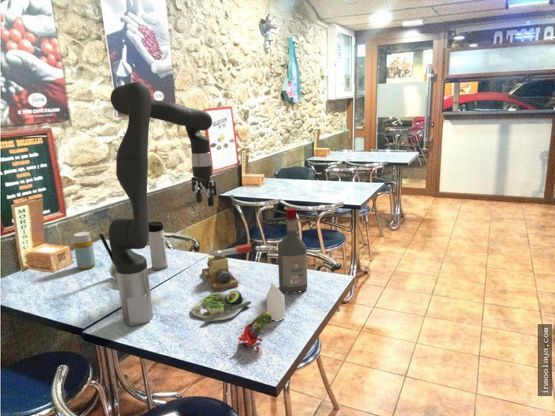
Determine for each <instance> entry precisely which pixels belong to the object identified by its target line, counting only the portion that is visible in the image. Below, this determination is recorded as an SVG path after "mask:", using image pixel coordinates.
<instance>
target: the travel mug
mask: <svg viewBox="0 0 555 416" xmlns="http://www.w3.org/2000/svg"><path fill="white" fill-rule="evenodd" d="M148 223H149V238H148V244H149V251H150V253H149V254H150V261H151V269H152V270H154V271H163V270H165V269H167V268H168V259H167V257H168V256H167V249H166V240H165V229H164V223H162V222H160V221H150V222H149V221H148Z"/></svg>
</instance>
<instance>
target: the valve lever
mask: <svg viewBox="0 0 555 416" xmlns="http://www.w3.org/2000/svg"><path fill="white" fill-rule="evenodd" d="M250 252H251V253H252V252H253V246H252V245H251V244H250V243H246V244H241V245H236V246H235V245H234V247H231V248H230V247H229V248H225V249H215V250H213V256H214V257H215V258H219V257H221V256H225V257H226V256H228V255H229V256H230V255H235V254H237V255H240V254H245V253H246V254H247V253H250Z"/></svg>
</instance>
